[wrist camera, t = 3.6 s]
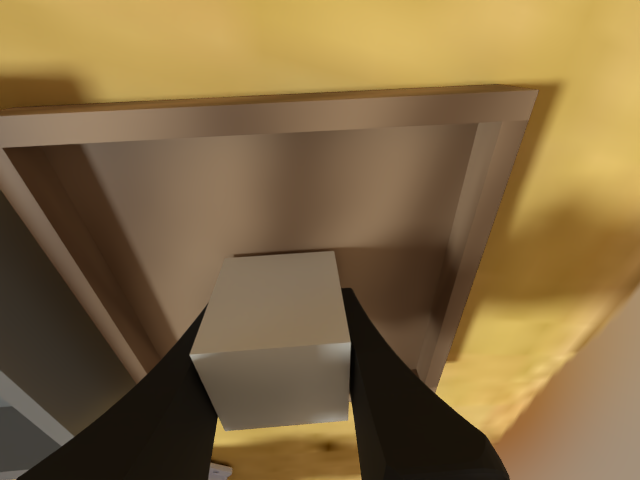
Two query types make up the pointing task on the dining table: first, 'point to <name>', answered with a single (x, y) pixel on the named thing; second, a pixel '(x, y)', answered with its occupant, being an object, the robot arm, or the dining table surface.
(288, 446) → the dining table surface
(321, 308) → the block
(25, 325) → the bin
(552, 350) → the dining table surface
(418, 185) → the tray
